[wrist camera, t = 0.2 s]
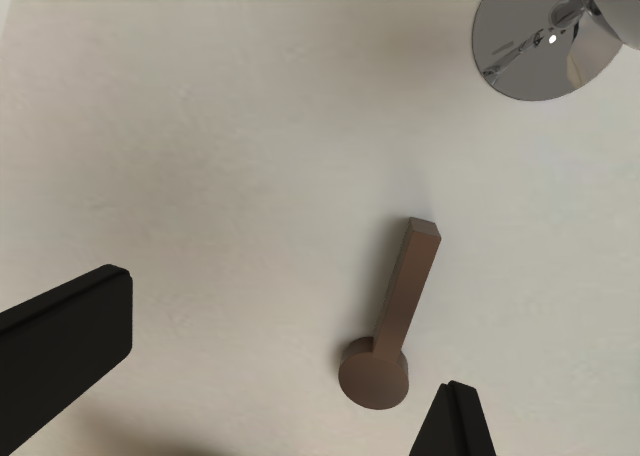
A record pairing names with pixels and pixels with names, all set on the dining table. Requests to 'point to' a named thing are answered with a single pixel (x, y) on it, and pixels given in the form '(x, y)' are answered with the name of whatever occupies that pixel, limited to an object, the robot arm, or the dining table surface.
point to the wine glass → (550, 43)
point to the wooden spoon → (391, 326)
